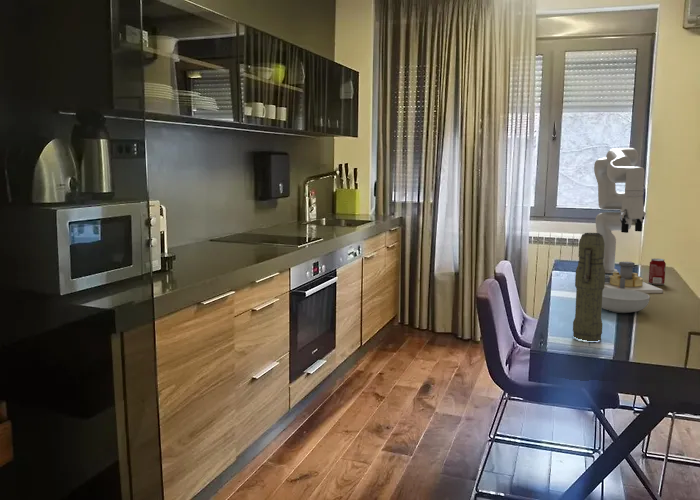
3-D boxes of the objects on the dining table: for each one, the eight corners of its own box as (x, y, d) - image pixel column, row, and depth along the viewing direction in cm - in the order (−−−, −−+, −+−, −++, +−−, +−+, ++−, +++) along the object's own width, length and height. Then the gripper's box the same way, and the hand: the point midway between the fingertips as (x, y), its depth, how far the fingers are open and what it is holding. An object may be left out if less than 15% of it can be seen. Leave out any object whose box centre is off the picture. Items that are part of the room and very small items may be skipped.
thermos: (603, 336, 197) (608, 232, 192) (599, 345, 187) (605, 236, 182) (574, 332, 201) (579, 231, 196) (570, 342, 191) (575, 234, 186)
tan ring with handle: (640, 281, 277) (640, 272, 276) (643, 287, 264) (644, 277, 264) (584, 279, 285) (584, 269, 284) (585, 284, 272) (585, 274, 272)
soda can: (662, 286, 275) (664, 261, 274) (647, 284, 279) (648, 259, 278) (665, 283, 281) (667, 259, 279) (649, 282, 285) (651, 257, 283)
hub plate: (591, 282, 285) (592, 258, 283) (636, 282, 285) (637, 258, 283) (613, 293, 261) (614, 267, 259) (662, 293, 261) (664, 267, 259)
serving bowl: (615, 319, 219) (616, 301, 218) (579, 306, 239) (580, 289, 238) (661, 314, 224) (662, 297, 223) (622, 302, 244) (623, 286, 243)
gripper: (638, 193, 275) (636, 230, 277) (614, 194, 267) (612, 232, 269) (653, 194, 268) (651, 231, 271) (628, 195, 260) (626, 233, 262)
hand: (631, 231), depth 270 cm, fingers open, 9 cm apart
